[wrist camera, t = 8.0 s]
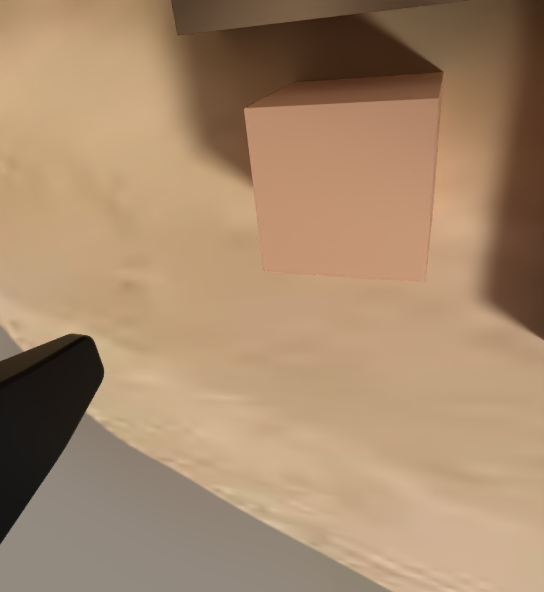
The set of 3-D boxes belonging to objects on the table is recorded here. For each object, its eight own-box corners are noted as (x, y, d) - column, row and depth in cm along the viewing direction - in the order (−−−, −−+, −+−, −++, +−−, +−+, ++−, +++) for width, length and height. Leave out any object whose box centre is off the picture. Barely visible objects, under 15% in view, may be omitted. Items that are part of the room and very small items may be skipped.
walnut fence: (731, -89, 12) (803, -113, 9) (600, 347, 18) (622, 401, 16) (212, -10, 16) (169, -12, 14) (258, 315, 23) (235, 353, 20)
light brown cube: (443, 71, 15) (438, 98, 11) (432, 217, 18) (425, 282, 14) (294, 81, 17) (243, 108, 13) (304, 214, 19) (263, 271, 15)
